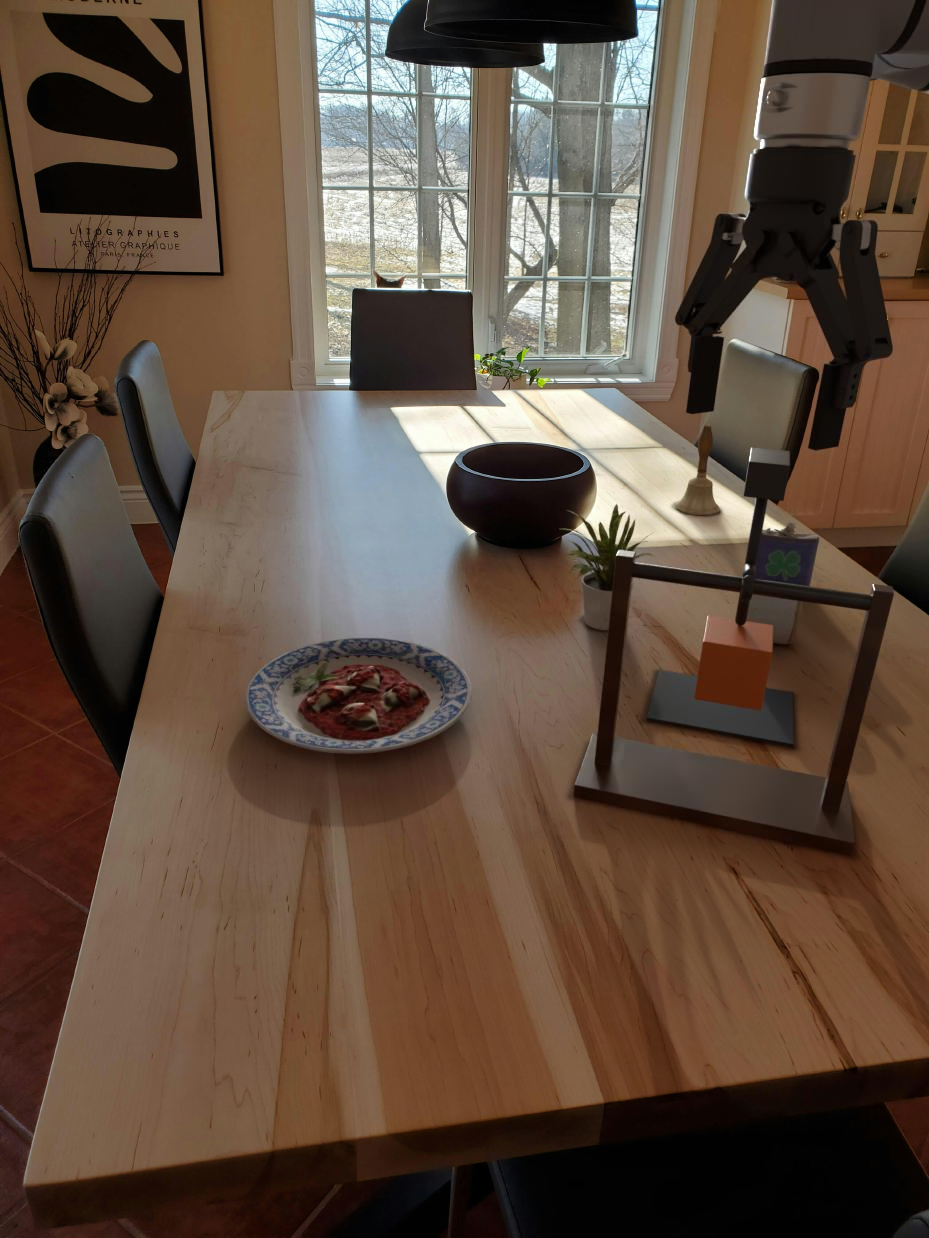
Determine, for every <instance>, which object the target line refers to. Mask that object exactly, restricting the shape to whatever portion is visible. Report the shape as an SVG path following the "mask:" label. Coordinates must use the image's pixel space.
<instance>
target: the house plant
mask: <svg viewBox="0 0 929 1238" xmlns="http://www.w3.org/2000/svg"><path fill="white" fill-rule="evenodd" d="M566 511H567V512H569V513H572V514H573V515H575V516H577V517H578V519H580V520H581V521H582V523H583V524H584V525H585V527H586V529H587V532H588V533H589V535H590V537H591V539H592V541H593V542H592V541H591V540H590V539H589V538H587V537H586V535H584V534H583V533H581V532H580V531H578V530H575V529H573V528H560V530H565V531H571V532H575V533H578V534H580V535H581V536H580V535H577V534H574V533H570V535H572V536H577V537H578V538H579V539H580V540H581V541H582V542H583V543H584V544H585V546H586V547H587V549H588V550H589V553H587V552H585V551H584V550H583V549H582V547H581V546H580V545H579V544H578V543H576V542H575V541H572V540H569V539H567V540H568V541H569V542H570V543H572V544H573V545H574V546H575V548H577V549H574V550H571V551H569V552H568V553H566V554H565V555H566V556H570V557H572V558H573V559H572V558H567V561H575V562H578V563H576V564H574V565H573V566H572V567H571V569H570V571H569V573H571V572H572V571H576V570H579V573H578V575H577V578H580V577H581V576H582V578H581V580H580V581H581V592H582V601H583V603H582V604H583V617H584V622H585V624H586V625H587V626H588V627H590V628H593V629H596V630H599V631H608V628H609V619H610V609H611V599H612V590H613V580H614V571H615V561H616V555H617V553H618V551H619V550H625V551H632V552H634V550H635V549H636V548H638V546H639V545H640V544H642V543H649V541H648V540H645V539H647V538H648V537H649V536H651V535H652V534H654V533H655V531H654V532H651V533H650V534H648V535H647V536H645V537H644V538H643V539H642V540H640V541H639V542H637V543H635V544H632V545H631V546H629V547H628V545H629V544H630V541H631V539H632V537H633V535H634V531H635V526H636V519H634V520H633V521H632V524H631V525H630V523H631V514H630V513H628V515H627V519H626V521H625V523H624V526H623V529H622V533H621V536H620V537H619V538H620V539H619V541H618V544H617V543H616V541H617V536H618V533H619V532H618V531H619V528H620V524H621V521H622V518H623V516H624V515H625V514H626V512H627V511H626V510H625V511H623V512H621V513H619V506H618V503H616V504H615V505H614V506H613V510H612V512H611V517H610V521H609V525H608V526H609V528H608V533H607V530H606V529H605V527H604V525H603V523H602V521H599V523H598V535H599V539H598V538H597V535H596V532H595V529H594V528H593V526H592V524H590V523H589V521H587V520H586V519H585V518H584V517H583V516H581V515H580V514H578V513H576V512H574V511H571V510H568V509H566ZM582 536H583V537H585V538H586V539H587V541H588V542H589V543H590V544H591V545H592V546H593V547H594V549H595V551H596V553H597V555H596V554H594V552H593V550H592V548H591V547H590V545H589V544H588V542H587V541H586V540H585V539H584V538H583V537H582ZM593 543H594V544H593ZM645 556H652V557H655V555H653V554H652V553H640V554H637V555H636V556H635V560H637V559H639V558H641V557H645ZM574 558H580V559H583V560H585V562H586V563H587V564H584V563H582V562H581V561H579V560H578V559H574ZM601 567H602V568H601ZM638 580H639V581H640V578H638ZM632 589H634V581H633V582H632Z"/></svg>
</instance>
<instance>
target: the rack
mask: <svg viewBox="0 0 929 1238" xmlns="http://www.w3.org/2000/svg"><path fill="white" fill-rule="evenodd" d="M636 554H637V552H636V551H633V552H632V551H626V550H619V551H618V553H617V555H616V561H615V571H614V580H613V590H612V599H611V609H610V619H609V628H608V630H607V637H606V647H605V656H604V667H603V675H602V686H601V696H600V705H599V716H598V725H597V733H595V732H593V733H592V735H591V737H590V740H589V742H588V743H589V744H588V746H587V749H586V752H585V754H584V758H583V760H582V762H581V766H580V769H579V771H578V774H577V777H576V779H575V783H574V784H573V785H574V786H573V798H576V799H581V800H586V801H590V802H595V803H596V802H597V803H600V804H605V805H610V806H615V807H619V808H623V809H627V810H628V809H629V810H632V811H633V810H634V811H638V812H642V813H643V812H644V813H647V814H651V815H657V816H662V817H667V818H671V819H676V820H679V821H686V822H691V823H694V824H698V825H699V824H700V825H704V826H709V827H714V828H717V829H718V828H720V829H722V830H727V831H728V830H729V831H732V832H737V833H742V834H746V835H751V836H757V837H761V838H766V839H771V840H775V841H781V842H785V843H789V844H795V845H799V846H804V847H809V848H814V849H817V850H818V849H819V850H823V851H828V852H833V853H837V854H841V855H847V856H852V855H853V851H854V848H855V844H856V842H855V833H854V832H855V831H854V824H853V814H852V813H853V812H852V803H851V795H850V794H851V793H850V785H849V781H848V777H849V773H850V768H851V766H852V761H853V756H854V753H855V750H856V746H857V742H858V738H859V733H860V730H861V726H862V722H863V719H864V718H863V717H864V714H865V710H866V706H867V702H868V698H869V694H870V690H871V687H872V684H873V683H872V682H873V679H874V675H875V670H876V667H877V663H878V659H879V655H880V650H881V647H882V645H883V644H882V643H883V639H884V635H885V632H886V627H887V623H888V620H889V616H890V612H891V608H892V604H893V600H894V596H895V591H894V588H893V586H891V585H884V584H876V583H873V584H872V586H871V589H870V593H863V592H861V593H860V592H853V591H846V590H840V589H839V590H838V589H832V588H825V587H818V586H811V585H810V586H803V585H796V584H789V583H781V582H774V581H767V580H760V579H755V583H754V588H753V595H760V596H767V597H774V598H781V599H788V600H795V601H802V602H803V603H810V604H818V605H823V606H831V607H839V608H844V609H853V610H860V611H865V614H864V619H863V623H862V627H861V631H860V635H859V639H858V642H857V647H856V652H855V655H854V660H853V664H852V668H851V672H850V676H849V679H848V680H849V681H848V684H847V689H846V693H845V697H844V701H843V706H842V710H841V712H840V713H841V714H840V717H839V722H838V726H837V729H836V734H835V737H834V743H833V747H832V750H831V754H830V759H829V764H828V768H827V772H826V775H825V776H821V775H815V774H810V773H805V772H801V771H795V770H790V769H784V768H778V767H774V766H769V765H763V764H760V763H759V764H758V763H753V762H747V761H743V760H737V759H732V758H727V757H722V756H716V755H711V754H706V753H702V752H701V753H700V752H695V751H690V750H684V749H679V748H674V747H669V746H663V745H659V744H653V743H647V742H643V741H638V740H632V739H627V738H623V737H616V730H617V720H618V712H619V711H618V710H619V703H620V694H621V685H622V677H623V668H624V659H625V650H626V642H627V633H628V624H629V616H630V608H631V607H630V606H631V600H632V599H631V598H632V591H633V588H632V582H633V583H634V579H641V580H648V581H656V582H661V583H669V584H675V585H676V584H677V585H684V586H691V587H697V588H703V589H704V588H705V589H711V590H717V591H724V592H725V591H726V592H734V593H739V594H740V593H741V588H742V582H743V576H738V575H729V574H724V573H723V574H721V573H716V572H715V573H714V572H710V571H709V572H708V571H700V570H693V569H685V568H679V567H672V566H665V565H658V564H657V565H656V564H651V563H643V562H636V559H635V557H636V556H637V555H636Z"/></svg>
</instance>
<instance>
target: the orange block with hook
mask: <svg viewBox="0 0 929 1238" xmlns="http://www.w3.org/2000/svg"><path fill="white" fill-rule="evenodd" d="M790 469H791V452H790V451H789V450H780V449H771V448H770V449H769V448H760V447H750V451H749V458H748V464H747V470H746V476H745V482H744V490H743V497H744V498H753V499H755V501H754V507H753V508H754V509H753V512H752V519H751V524H750V531H749V536H748V542H747V549H746V554H745V560H744V566H743V571H742V577H743V582H742V588H741V593H739V595H738V600H737V607H736V611H737V612H736V611H735V616H736V617H735V616H734V618H729V617H728V618H727V617H721V616H715V615H707V618H706V624H705V629H704V634H703V639H702V645H701V652H700V659H699V664H698V670H697V676H698V677H697V683H696V689H695V696H694V699H696V700H702V701H708V702H713V703H719V704H725V705H731V706H736V707H742V708H748V709H753V710H759V711H761V710H762V705H763V700H764V695H765V690H766V688H767V684H768V679H769V673H770V669H771V664H772V659H773V654H774V653H773V652H774V651H773V650H774V643H773V625H768V624H762V623H755V622H748V621H746V620H747V614H748V608H749V603H750V600H751V599H752V594H753V588H754V583H755V572H756V564H757V558H758V552H759V547H760V541H761V535H762V530H764V529H763V528H764V523H765V518H766V513H767V506H768V501H769V500H770V501H771V500H772V501H780V502H784V500H785V495H786V489H787V486H788V480H789V474H790Z"/></svg>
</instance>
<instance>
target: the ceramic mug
mask: <svg viewBox="0 0 929 1238" xmlns="http://www.w3.org/2000/svg"><path fill="white" fill-rule="evenodd" d="M803 606H804V602H802V601H795V600H788V599H781V598H774V597H767V596H760V595H753V594H752V599H751V600H750V603H749V608H748V614H747V620H746V621H748V622H755V623H762V624H768V625H773V644H777V645H790V644H792V643H793V642H795V639H796V636H797V632H798V628H799V624H800V619H801V615H802V611H803ZM736 612H737V610H736V611H735V613H736ZM735 617H736V615H735V616H734V618H735Z"/></svg>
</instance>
